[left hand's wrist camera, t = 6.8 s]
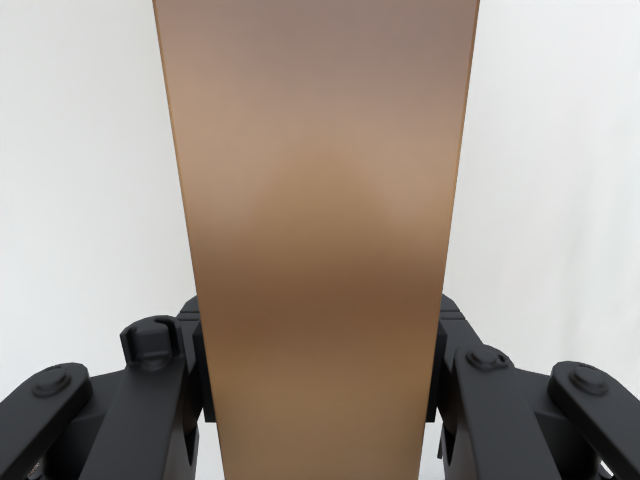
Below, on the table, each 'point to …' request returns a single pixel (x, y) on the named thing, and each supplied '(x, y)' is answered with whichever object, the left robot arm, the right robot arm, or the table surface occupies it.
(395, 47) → the post
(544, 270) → the table surface
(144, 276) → the table surface
